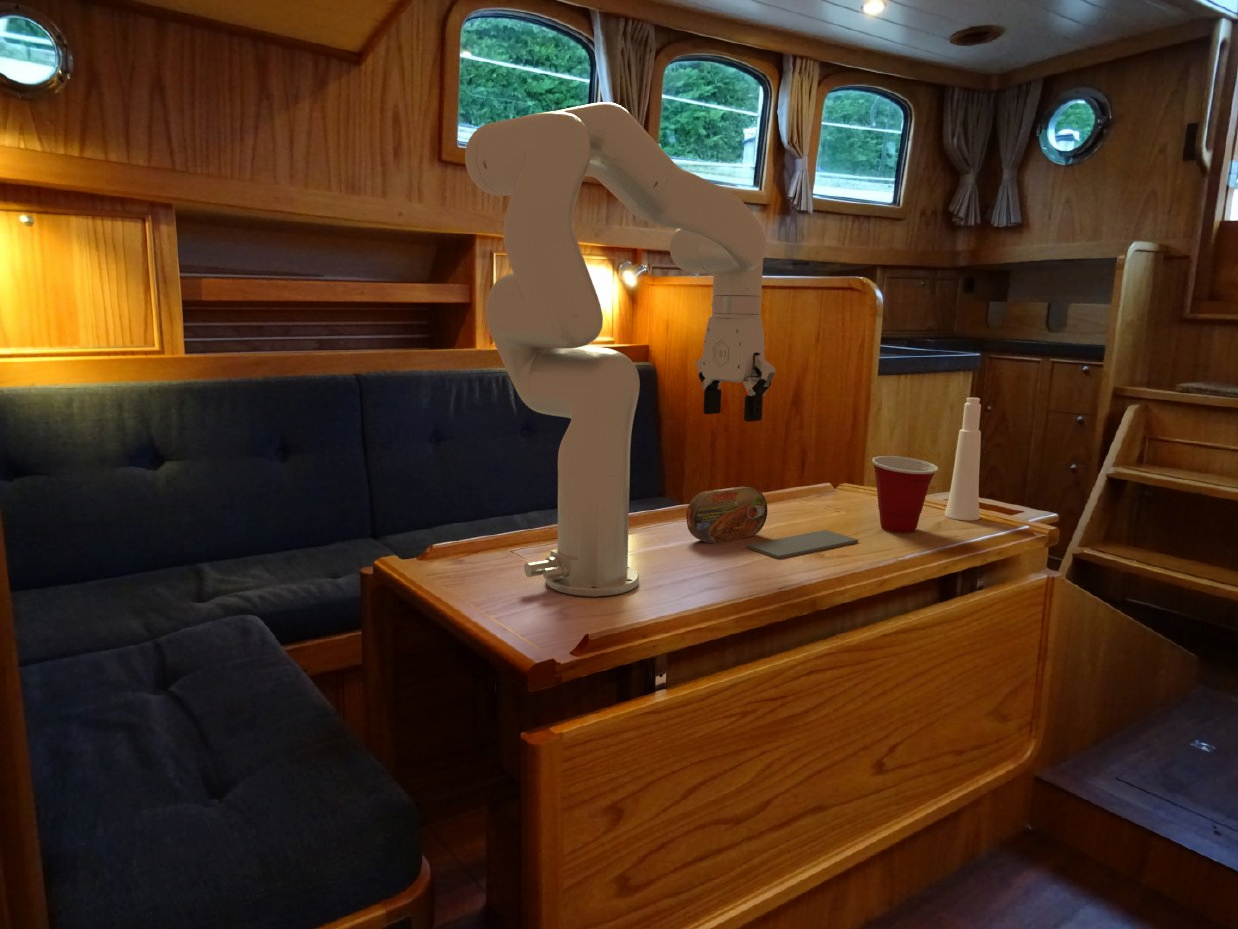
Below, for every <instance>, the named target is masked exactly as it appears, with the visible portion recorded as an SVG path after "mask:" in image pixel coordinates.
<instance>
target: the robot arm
mask: <svg viewBox="0 0 1238 929" xmlns="http://www.w3.org/2000/svg"><path fill="white" fill-rule="evenodd" d="M464 163H465V166H466V171H467V173H468V175H469V177H470V179H471V181H472V182H473V183H474V184H475V185H476V187H477V188H479V189H480V190H482V192H485V193H486V194H489V195H491V196H497V197H504V196H510V198H509V202H508V203H509V204H508V205H507V209H506V213H505V217H504V221H503V229H502V232H503V233H502V238H503V244H504V245H503V246H504V250H505V252H506V256H507V259H508V261H509V264H510V265H509V266H510V267H511V271H512V273H508V274H506V275H503V276H501V277H500V278H499V279H498V280H497V281H495V282H494V284H493V285H492V286H491V288H490V290H489V292H488V295H487V298H486V305H485V306H486V307H485V312H486V313H485V316H486V323H487V328H488V331H489V334H490V337H491V339H492V341H493V344H494V345H495V348H496V350H497V353H498V354H499V356H500V359H501V361H502V363H503V365H504V367H505V369H506V371H507V372H506V373H507V374H508V377H509V378H510V380H511V382H512V384H513V387H514V389H515V390H516V392H517V395H518V397H519V398H520V400H521V401H522V402H523V403H524V404H525V406H526V407H528V409H531V410H532V411H534V412H536V413H540V414H543V415H547V416H554V417H561V418H568V419H570V423H569V424H568V427H567V429H566V431H565V433H564V435H563V437H562V440H561V442H560V445H559V448H558V452H557V453H558V454H557V548H556V549H551V550H549V551H550V552H549V553H550V555H549V556H547V557H546V558H545V559H544V560H541V561H540V560H536V561H529V562H525V564H524V566H523V567H524V569H523V570H524V574H525V575H526V577H527V578H531V577H532V578H533V577H537V576H538V577H539V576H543V577H542V578H544V579H545V583H546V584H547V586H548V587H549V588H551V589H553V590H555V591H557V592H559V593H563V594H567V595H570V596H579V597H608V596H614V595H619V594H623V593H627V592H629V591H632V590H634V588H636V587H637V586H638V585H639V580H640V575H639V573H638V571H637V570H636V569H634V568H632V567H631V566H629V565H628V563H629V521H630V519H629V518H630V515H629V514H630V512H629V511H630V477H631V476H630V475H631V474H630V473H631V469H630V468H631V464H630V463H631V444H632V430H633V424H634V420H635V419H634V418H635V413H636V409H637V404H638V400H639V394H640V386H641V384H640V375H639V374H640V373H639V371H638V369H637V367H636V365H635V364H634V361H632V360H631V359H630V358H629V357H628V356H627V355H626V354H624V353H622V352H620V351H618V350H615V349H612V348H608V347H600V346H598V347H596V346H588V345H590V344H592V343H593V342H594V341H595V340H597V338H598V337H599V336H600V334H601V332H602V329H603V325H604V322H603V321H604V318H603V317H604V315H603V310H602V306H601V303H600V300H599V299H600V298H599V296H598V293H597V290H596V288H595V285H594V283H593V280H592V278H591V275H590V272H589V269H588V267H587V264H586V261H585V258H584V256H583V253H582V251H581V248H580V244H579V241H578V238H577V234H576V230H575V224H574V223H575V222H574V219H575V217H574V216H575V215H574V214H575V209H576V202H577V200H578V199H577V197H578V195H579V192H580V189H581V185H582V183H583V181H584V179H585V177H591V178H594V179H595V180H598V182H600V183H601V184H602V185H603V186H604V187H605V188H606V189H607V190H608V191H609V192H610V193H611V194H612V195H613V196H614V197H615V198H616V199H617V200H618V201H619V202H621V204H622V205H623V206H625V208H626V209H628V210H629V211H630V212H631V213H632V215H634V216H635V217H637V218H638V219H640V220H642V221H644V222H648V223H651V224H654V225H656V226H657V225H658V226H662V227H666V228H672V229H676V230H675V231H674V232H673V234H672V236H671V238H670V241H669V253H670V258H671V260H672V261H673V262H674V264H675V265H676V266H677V267H678V268H679V269H680V270H682V271H684V272H687V273H689V274H712V275H713V278H712V280H713V281H712V302H711V316H708V320H707V322H706V324H707V325H706V328H705V334H704V335H705V336H704V340H703V341H704V342H703V349H702V350H703V351H702V357H701V358H699V359H697V360H696V361H695V362H696V363H695V365H696V368H697V372H698V379H699V381H700V382H701V388H702V390H703V414H704V415H717V414H720V413H721V410H722V388H719V387H720V386H721V384H722V382H728V383H742V384H743V386H744V388H745V390H746V392H747V394H748V395H744V410H743V411H744V412H743V413H744V414H743V420H744V421H745V422H749V423H750V422H761V420H762V419H763V404H764V403H763V401H764V400H763V399H764V396H765V395H766V394H767V390H768V389H769V388H770V387H771V385H772V381H773V379H774V376H775V374H776V368H775V367H774V366H773V365H772V364H771V363H770V362H769V361H767V359H765V334H764V326H763V318H762V317H761V312H762V311H761V309H762V290H763V289H762V288H763V287H762V286H763V266H764V265H763V264H764V258H765V255H766V252H767V241H766V235H765V232H764V229H763V227H762V226H761V223H760V221H759V220H758V218H757V217H756V216H755V214H754V213H753V212H752V211H751V210H750V209H749V207H748V206H747V205H746V204H745V203H744V202H743V201H742V200H741V199H740V198H739V197H738V196H737V195H735V194H734V193H732V192H731V191H729V190H727V189H726V188H724V187H722V186H721V185H719V184H717V183H713V182H711V181H709V180H707V179H705V178H703V177H701V176H699V175H696V173H693V172H691V171H688V170H685V169H683V168H682V167H679V166H678V165H677V164H676V163H675V162H674V161H673V159H671V157H670V156H669V155H668V154H667V153H666V152H665V151H664V150H663V148H661V147H660V145H658V143H657V142H656V140H654V138H652V136H651V135H650V134H649V133H648V132H647V130H645V128H644V127H643V126H642V125H641V124H640V123H639V122H638V121H637V120H636V118H635V117H634V116H633V115H632V114H631V113H630V112H629V111H628V110H627V109H626V108H624V107H622V105H619V104H617V103H614V102H608V101H607V102H605V101H604V102H595V103H589V104H584V105H580V106H579V105H578V106H574V107H568V108H564V109H558V110H555V111H554V110H553V111H544V112H538V113H532V114H527V115H523V116H519V117H514V118H509V119H502V120H498V121H494V122H488V123H486V124H483V125H481V126H479V127H478V128H477V129H476V130H475V131H474V132H472V134H471V135H470V137H469V139H468V141H467V143H466V146H465V152H464Z"/></svg>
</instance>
